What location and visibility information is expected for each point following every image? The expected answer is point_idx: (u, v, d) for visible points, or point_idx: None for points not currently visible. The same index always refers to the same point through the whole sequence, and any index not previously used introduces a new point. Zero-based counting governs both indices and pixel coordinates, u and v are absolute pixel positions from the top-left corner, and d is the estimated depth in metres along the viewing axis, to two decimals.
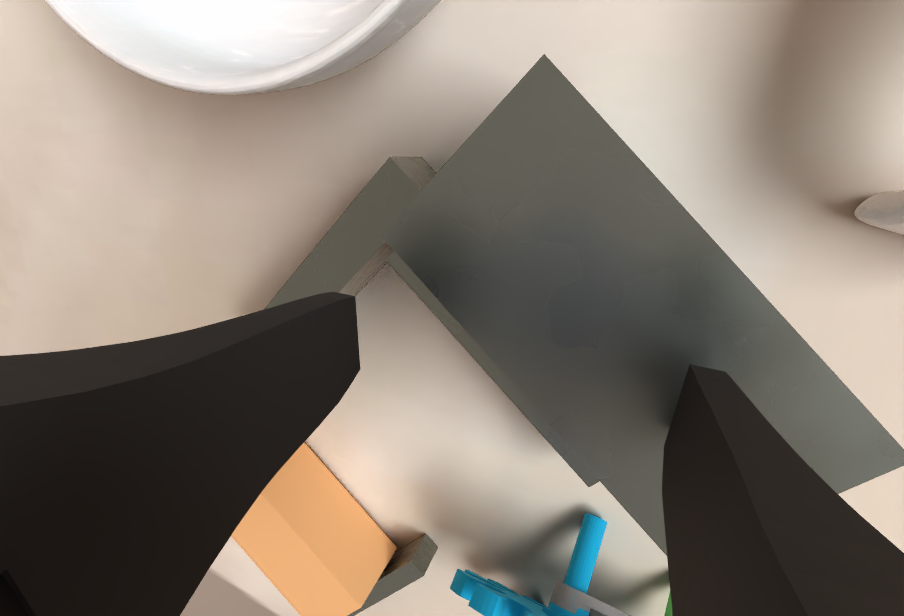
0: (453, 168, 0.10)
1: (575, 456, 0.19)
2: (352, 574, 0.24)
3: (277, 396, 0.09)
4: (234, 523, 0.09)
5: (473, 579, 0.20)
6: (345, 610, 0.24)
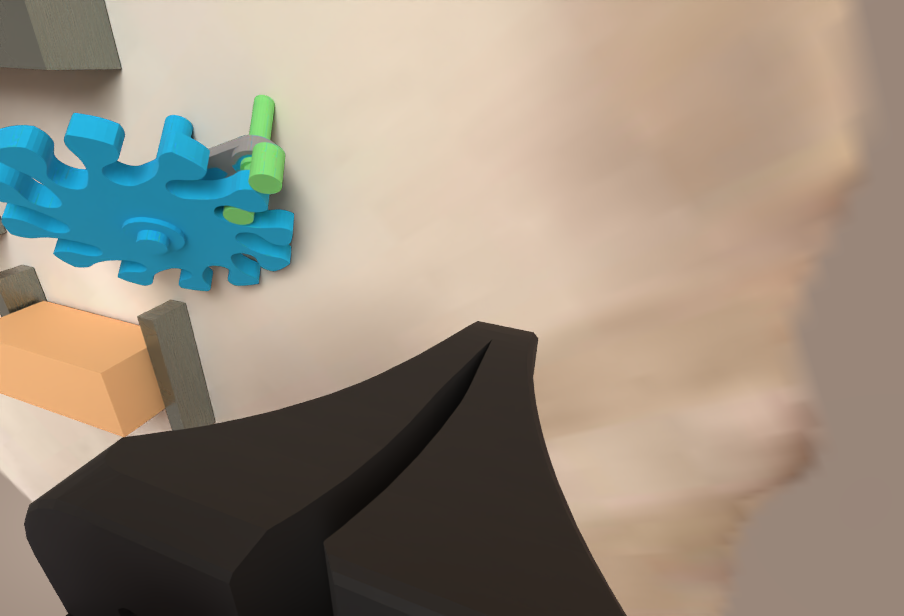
0: None
1: (17, 54, 0.18)
2: (97, 358, 0.24)
3: None
4: None
5: None
6: (103, 388, 0.24)
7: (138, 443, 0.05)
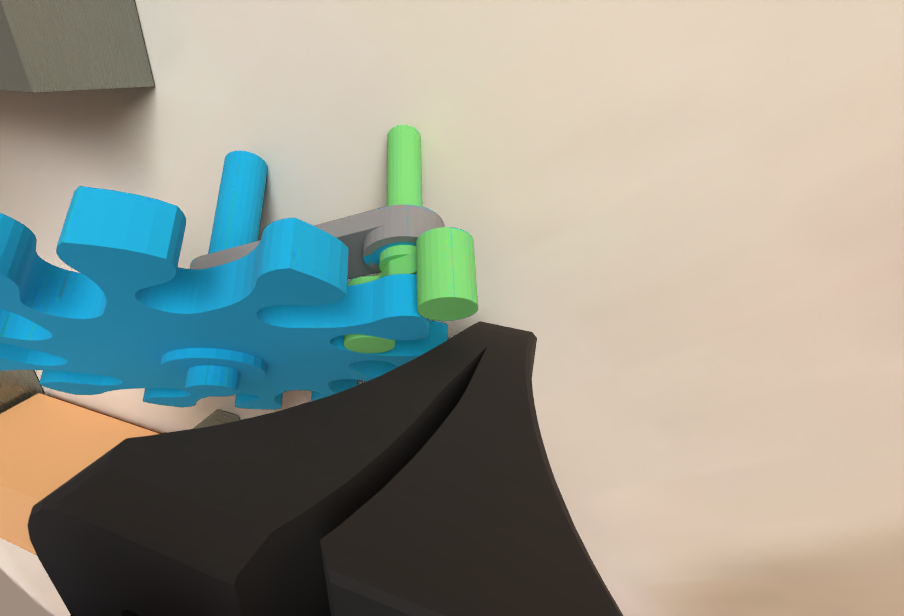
0: None
1: None
2: None
3: None
4: None
5: None
6: None
7: (141, 445, 0.05)
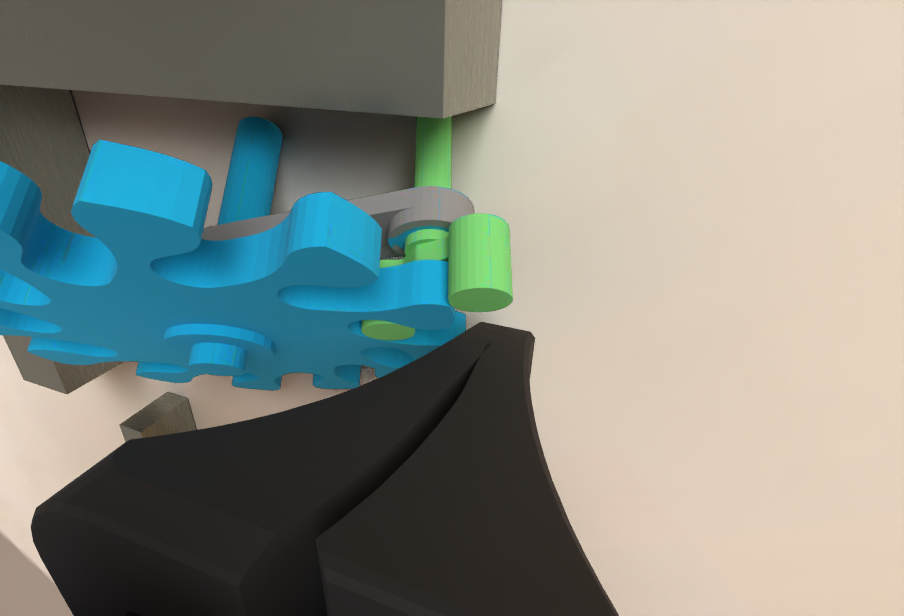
0: None
1: (364, 80, 0.08)
2: None
3: None
4: None
5: None
6: None
7: (145, 446, 0.05)
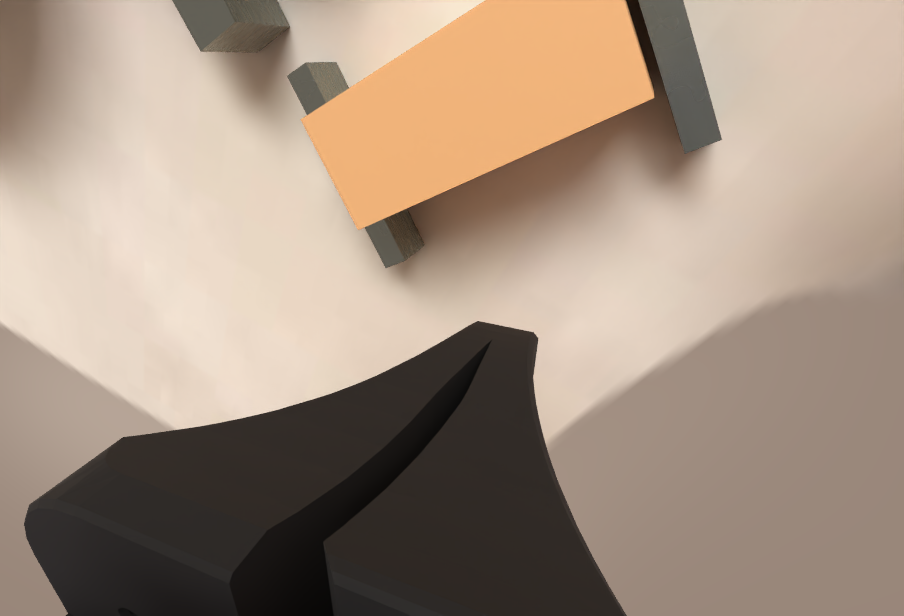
0: None
1: None
2: None
3: None
4: None
5: None
6: None
7: (138, 443, 0.05)
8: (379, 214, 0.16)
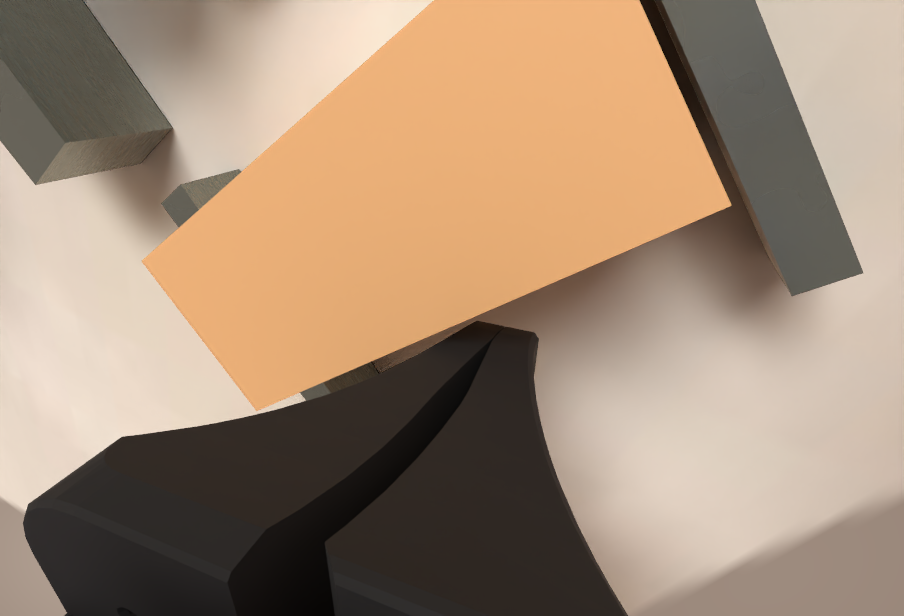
0: None
1: None
2: None
3: None
4: None
5: None
6: None
7: (137, 443, 0.05)
8: (281, 391, 0.10)
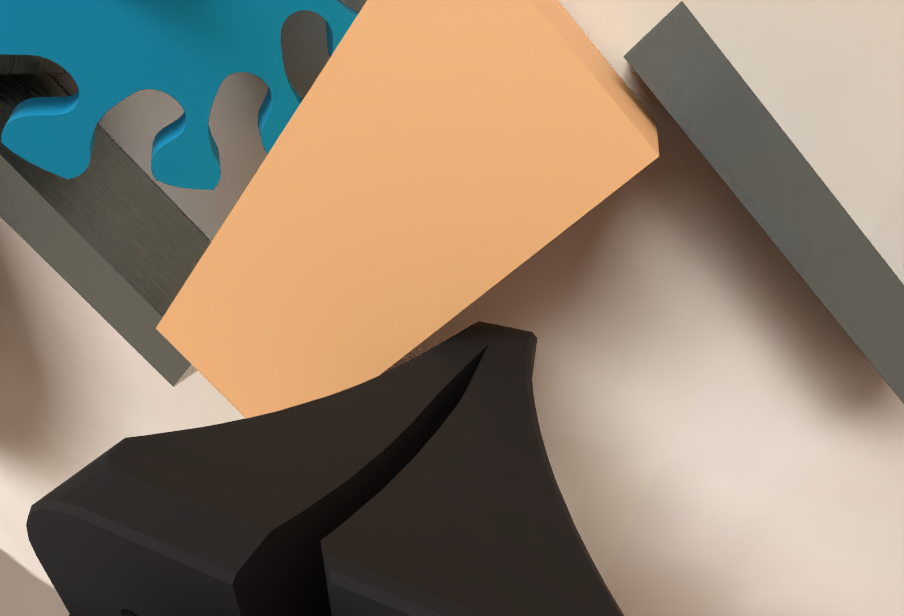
0: None
1: None
2: None
3: None
4: None
5: None
6: None
7: (141, 445, 0.05)
8: None
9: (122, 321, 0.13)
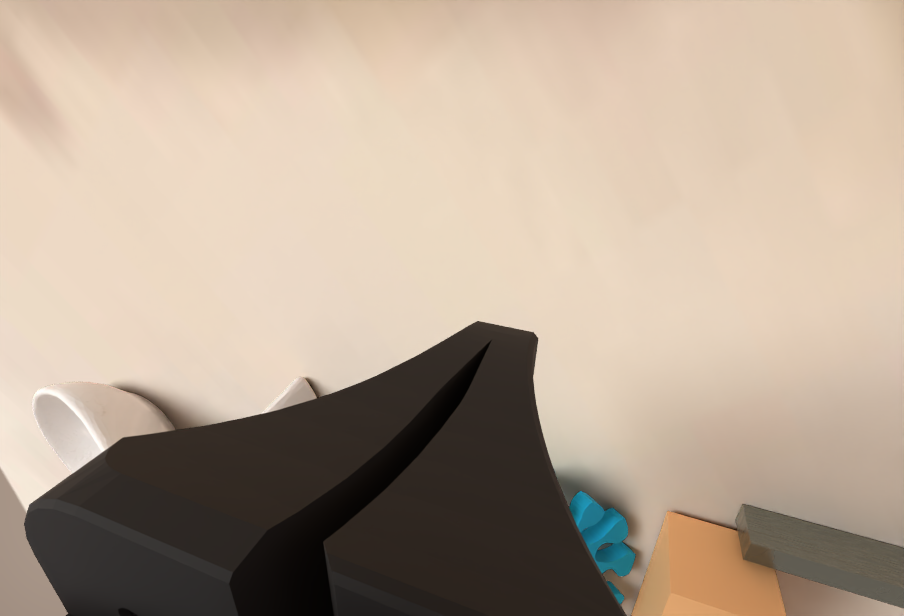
0: None
1: None
2: (661, 593, 0.20)
3: None
4: None
5: None
6: (697, 606, 0.18)
7: (137, 443, 0.05)
8: None
9: None
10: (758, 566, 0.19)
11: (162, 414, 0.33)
